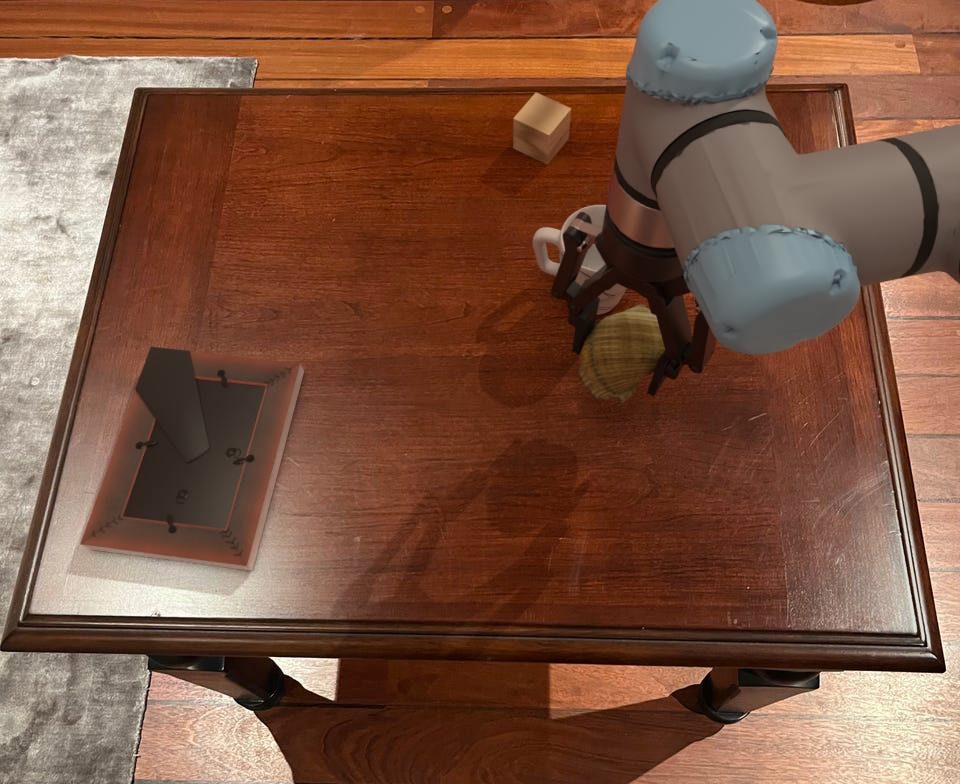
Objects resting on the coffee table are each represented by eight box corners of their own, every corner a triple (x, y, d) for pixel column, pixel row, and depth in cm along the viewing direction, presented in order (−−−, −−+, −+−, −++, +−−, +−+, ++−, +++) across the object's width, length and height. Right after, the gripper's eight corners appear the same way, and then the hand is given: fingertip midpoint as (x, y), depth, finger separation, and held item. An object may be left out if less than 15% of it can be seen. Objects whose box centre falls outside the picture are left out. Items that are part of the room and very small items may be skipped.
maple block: (568, 138, 99) (571, 108, 94) (547, 165, 97) (549, 135, 93) (534, 122, 100) (535, 92, 96) (513, 148, 99) (513, 118, 94)
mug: (518, 302, 89) (519, 248, 80) (545, 244, 92) (549, 186, 83) (616, 334, 86) (629, 283, 78) (640, 274, 90) (655, 218, 81)
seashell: (612, 416, 78) (675, 409, 72) (558, 395, 75) (619, 386, 68) (627, 324, 81) (688, 310, 74) (575, 299, 77) (635, 282, 70)
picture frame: (159, 357, 87) (91, 550, 78) (150, 346, 85) (78, 543, 76) (305, 373, 86) (253, 571, 76) (300, 362, 83) (246, 565, 74)
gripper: (820, 236, 54) (734, 385, 75) (563, 116, 60) (549, 286, 80) (772, 315, 51) (697, 448, 72) (508, 183, 57) (508, 341, 78)
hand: (619, 363), depth 76 cm, fingers closed on seashell, 7 cm apart
